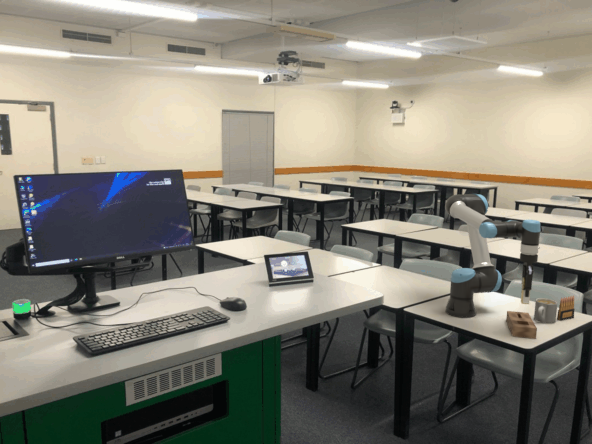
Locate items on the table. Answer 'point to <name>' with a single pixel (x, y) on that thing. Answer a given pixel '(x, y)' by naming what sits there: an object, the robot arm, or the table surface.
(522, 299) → the brass square peg
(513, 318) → the walnut bore block
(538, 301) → the coffee mug
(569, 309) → the ammunition clip
